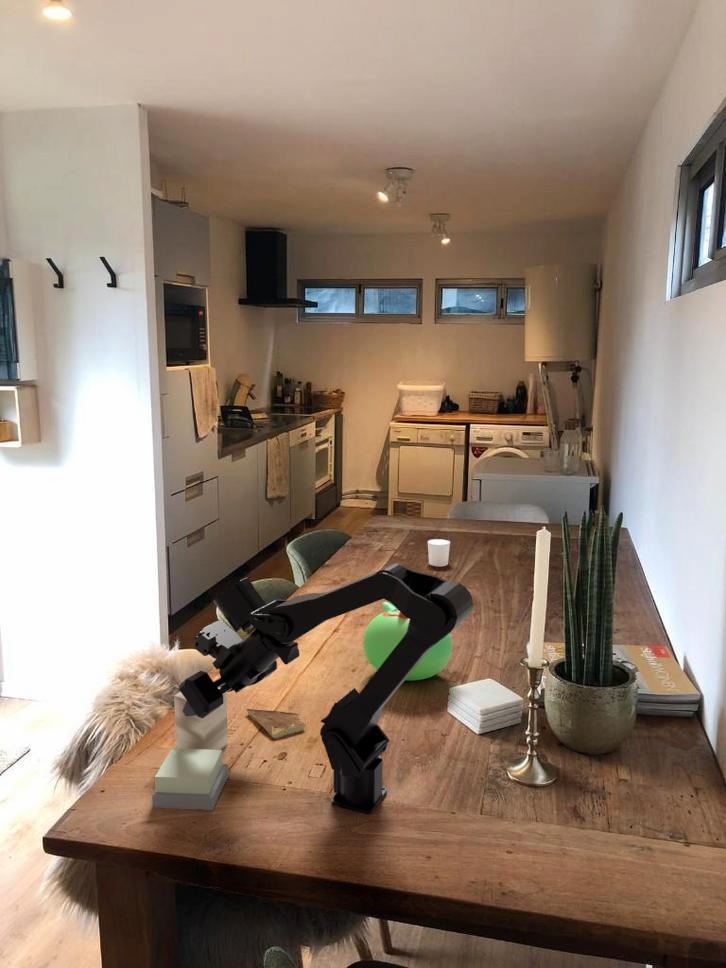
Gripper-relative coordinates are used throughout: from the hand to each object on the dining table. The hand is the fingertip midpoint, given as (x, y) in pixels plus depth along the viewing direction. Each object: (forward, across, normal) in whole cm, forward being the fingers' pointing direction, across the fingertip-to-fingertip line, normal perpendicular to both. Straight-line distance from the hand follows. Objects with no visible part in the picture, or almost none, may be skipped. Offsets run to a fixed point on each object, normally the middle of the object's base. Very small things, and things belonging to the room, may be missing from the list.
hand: (203, 701), depth 127 cm
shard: (+2, -11, +10) cm, 16 cm away
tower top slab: (0, +10, +9) cm, 13 cm away
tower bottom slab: (+2, +10, +11) cm, 15 cm away
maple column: (+6, 0, +6) cm, 9 cm away
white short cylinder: (+12, -118, +1) cm, 118 cm away
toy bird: (-6, -42, +18) cm, 47 cm away
